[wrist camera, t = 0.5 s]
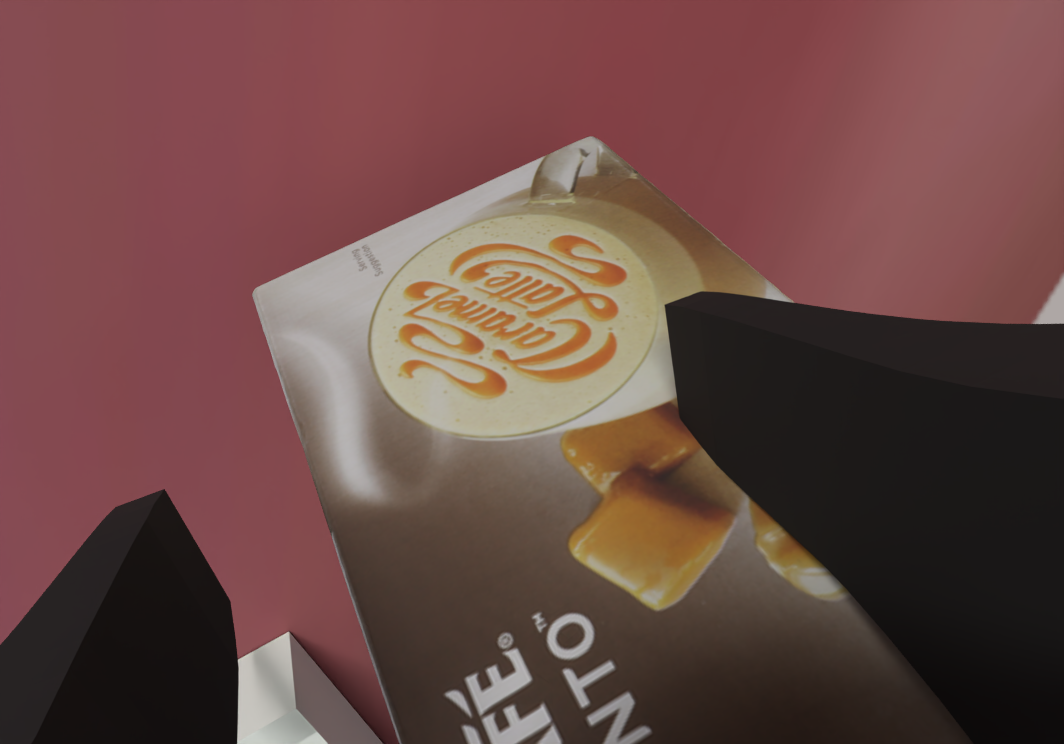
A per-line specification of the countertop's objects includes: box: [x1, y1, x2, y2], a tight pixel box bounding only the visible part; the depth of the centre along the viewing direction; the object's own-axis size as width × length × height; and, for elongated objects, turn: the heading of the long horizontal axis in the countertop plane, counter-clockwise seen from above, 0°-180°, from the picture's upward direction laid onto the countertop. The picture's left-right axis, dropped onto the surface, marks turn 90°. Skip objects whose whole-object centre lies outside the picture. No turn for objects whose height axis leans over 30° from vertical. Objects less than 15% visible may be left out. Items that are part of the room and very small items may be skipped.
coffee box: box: [252, 137, 973, 744], centre depth 14 cm, size 9×6×16 cm
